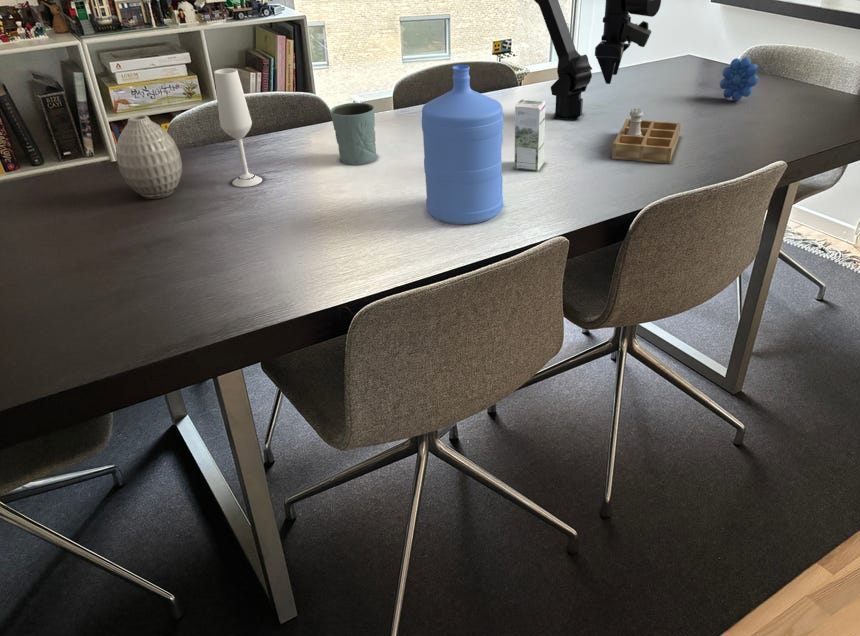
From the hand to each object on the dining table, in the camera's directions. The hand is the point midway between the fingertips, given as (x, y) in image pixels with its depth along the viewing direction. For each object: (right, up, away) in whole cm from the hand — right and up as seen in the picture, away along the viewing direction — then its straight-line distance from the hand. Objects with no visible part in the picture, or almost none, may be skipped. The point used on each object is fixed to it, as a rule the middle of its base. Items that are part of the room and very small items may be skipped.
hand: (611, 79), depth 189 cm
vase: (-105, -35, -24) cm, 113 cm away
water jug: (-37, -41, -36) cm, 66 cm away
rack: (+7, -19, -7) cm, 22 cm away
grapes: (+40, +3, +24) cm, 47 cm away
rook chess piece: (+4, -18, -7) cm, 20 cm away
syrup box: (-22, -26, -16) cm, 38 cm away
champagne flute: (-86, -31, -19) cm, 94 cm away
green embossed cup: (-63, -23, -9) cm, 68 cm away
